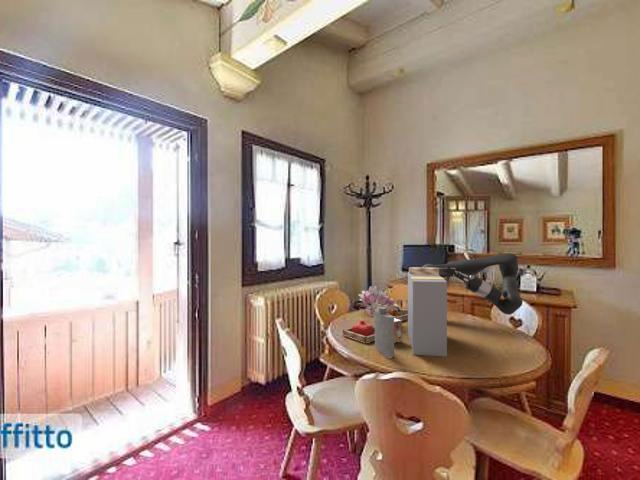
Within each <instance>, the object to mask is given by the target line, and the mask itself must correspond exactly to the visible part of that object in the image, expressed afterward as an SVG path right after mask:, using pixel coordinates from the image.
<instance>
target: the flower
mask: <svg viewBox="0 0 640 480" xmlns="http://www.w3.org/2000/svg"><path fill="white" fill-rule="evenodd" d="M357 296H359V298H360V299H359V301H361V302H363V305H364V306H365V307H366V309H367V310H370V311H369V312H368V315H369V316H368V317H371V316H370V315H371V312H373V314H372V316H373V317H372V318H373V320H374V321H375V309H377V308H379V307H386V308H387V310H386V311H388V310H389V309H391V310H393V309H394V310H397V309H396V308H395V306H394V305H393V304H396V301H395V299H394V298H390V296H387V292H386V291H382V289H377V286H375V285H373V286H372V285H370V286H369V288H368V290H366V291H365V290H361V293H359V294H358V295H357ZM379 304H381V305H379ZM378 305H379V306H378ZM384 305H385V306H384ZM374 307H375V308H374ZM397 312H398V310H397ZM387 314H388V313H387ZM370 325H371V326H372V327H375V323H371V324H370Z"/></svg>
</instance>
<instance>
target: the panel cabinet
mask: <svg viewBox="0 0 640 480" xmlns="http://www.w3.org/2000/svg"><path fill="white" fill-rule="evenodd" d="M407 310H408V320H407V334H409V335H408V339H409V342H410V347H411V352H412V355H417V356H433V357H436V356H437V357H448V281H447V280H446V279H445V277H441V276H440V275H432V274H409V271H407Z"/></svg>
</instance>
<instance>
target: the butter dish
mask: <svg viewBox="0 0 640 480" xmlns="http://www.w3.org/2000/svg"><path fill="white" fill-rule="evenodd" d="M352 327H353V328H352V332H354V333H357V334H360V335H363V336H366V337H367V336H370V335H373V334H375V333H374V331H373V326H371V324H370V323H367V322H366V320H364V319H361V320H359V323H355V324H354V325H352Z"/></svg>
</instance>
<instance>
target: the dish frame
mask: <svg viewBox="0 0 640 480" xmlns="http://www.w3.org/2000/svg"><path fill="white" fill-rule="evenodd" d="M372 327H373V326H372ZM352 328H353V326H351V327H347V328H344V329H342V335H343V334H344V335H346V336H349V337H352V338H355V339H357V340H360V341H363V342H367V343H369V342H372V341H375V334H373V335H370V336H367V337H366V336H363V335H360V334H357V333H354V332H352ZM373 331H374V333H375V327H373ZM367 343H366V344H367ZM372 343H373V342H372ZM369 344H370V343H369Z"/></svg>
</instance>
